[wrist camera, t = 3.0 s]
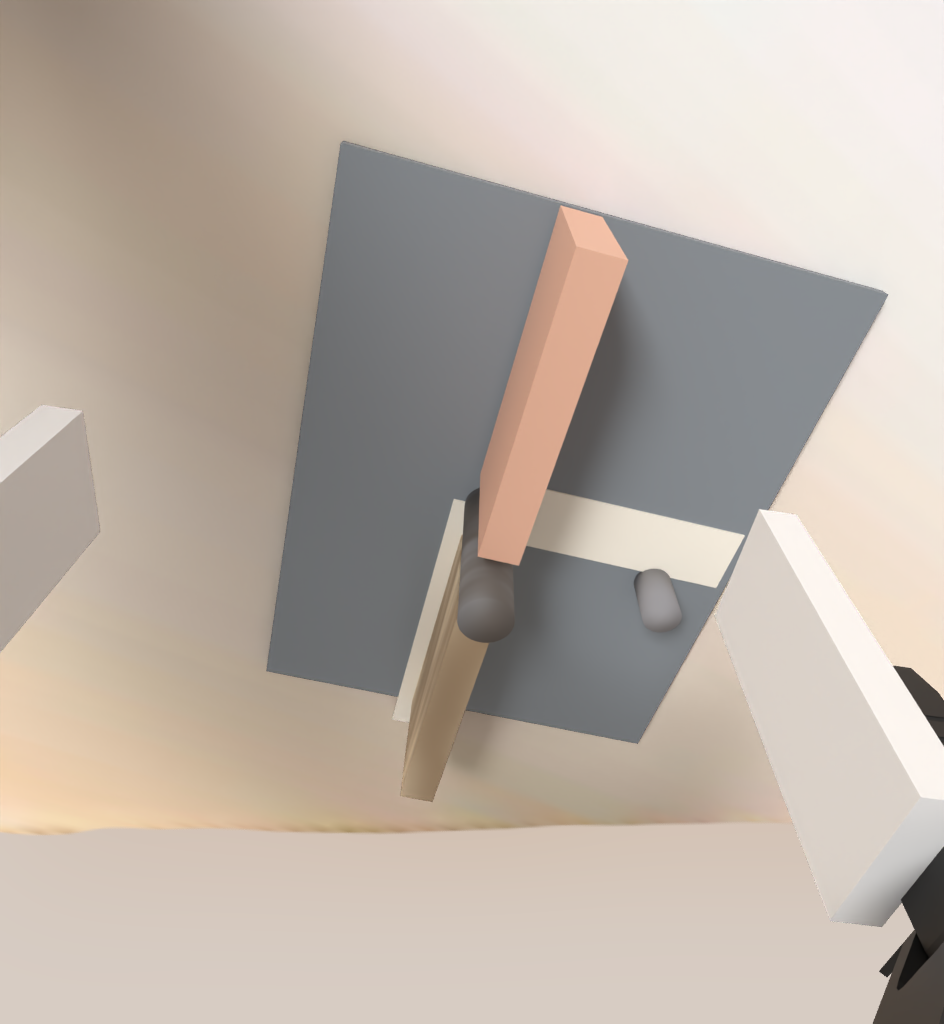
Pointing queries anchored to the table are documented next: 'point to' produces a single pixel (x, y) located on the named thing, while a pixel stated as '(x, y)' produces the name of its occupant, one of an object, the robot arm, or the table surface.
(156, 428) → the table surface
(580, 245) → the hinged panel
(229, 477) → the table surface
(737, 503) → the card
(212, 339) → the table surface
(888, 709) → the robot arm
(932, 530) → the table surface
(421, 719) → the base
